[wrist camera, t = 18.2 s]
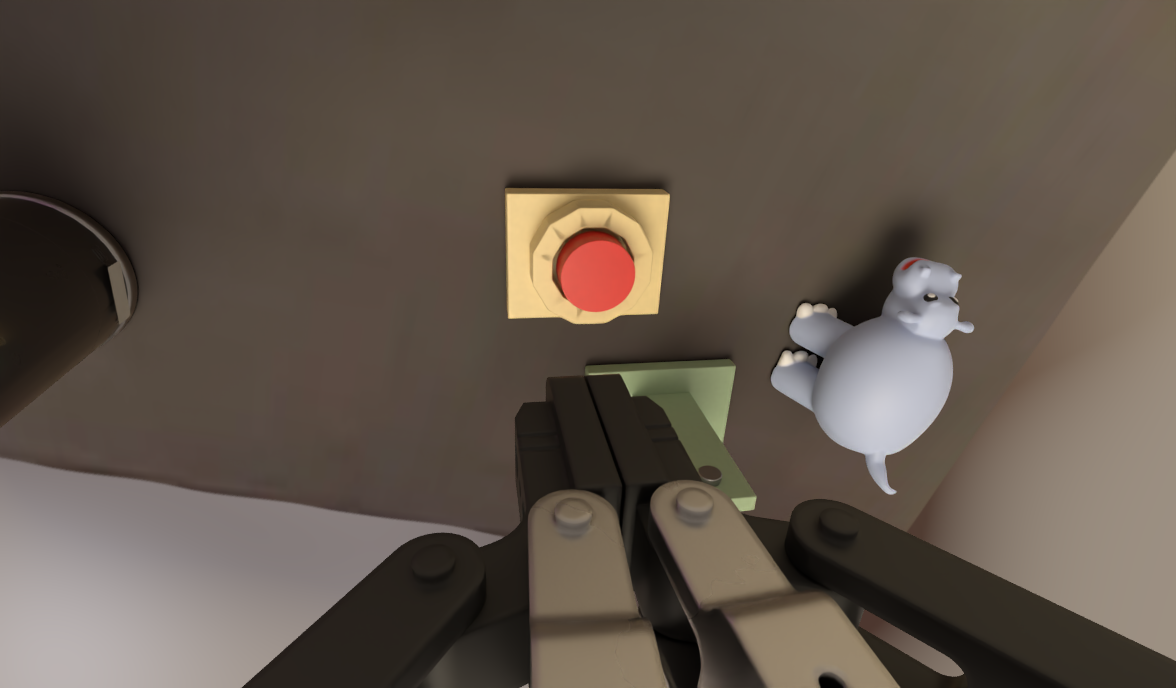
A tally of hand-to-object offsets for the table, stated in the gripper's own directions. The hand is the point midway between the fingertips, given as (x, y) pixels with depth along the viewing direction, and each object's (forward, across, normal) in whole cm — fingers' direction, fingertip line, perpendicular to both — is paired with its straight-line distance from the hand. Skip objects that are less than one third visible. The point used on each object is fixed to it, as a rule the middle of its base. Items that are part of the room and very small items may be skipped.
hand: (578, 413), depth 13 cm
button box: (+27, -5, +5) cm, 28 cm away
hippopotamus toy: (+27, -26, +12) cm, 39 cm away
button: (+24, -5, +5) cm, 25 cm away
